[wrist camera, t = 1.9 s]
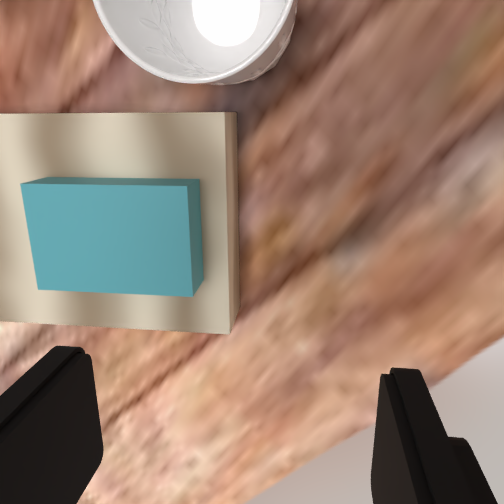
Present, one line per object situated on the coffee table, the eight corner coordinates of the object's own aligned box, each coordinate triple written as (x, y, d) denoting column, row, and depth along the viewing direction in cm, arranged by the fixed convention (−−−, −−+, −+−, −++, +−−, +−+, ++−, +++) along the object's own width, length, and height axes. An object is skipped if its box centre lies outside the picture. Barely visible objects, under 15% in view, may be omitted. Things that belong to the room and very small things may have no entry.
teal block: (199, 178, 24) (186, 185, 22) (203, 280, 26) (192, 296, 24) (47, 177, 25) (20, 183, 23) (61, 274, 27) (37, 289, 25)
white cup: (320, 67, 25) (326, 40, 16) (196, 112, 27) (134, 111, 18) (280, -84, 23) (259, -218, 14) (149, -26, 25) (50, -109, 16)
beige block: (236, 112, 27) (224, 112, 23) (240, 307, 31) (229, 334, 27) (-32, 114, 29) (-83, 114, 25) (3, 295, 33) (-37, 319, 29)
